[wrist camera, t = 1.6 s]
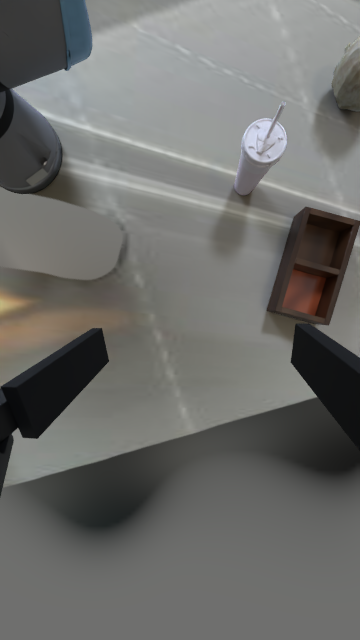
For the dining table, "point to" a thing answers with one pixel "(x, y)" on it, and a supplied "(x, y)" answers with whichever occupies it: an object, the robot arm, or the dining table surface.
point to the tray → (313, 266)
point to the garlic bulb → (348, 78)
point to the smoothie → (260, 151)
